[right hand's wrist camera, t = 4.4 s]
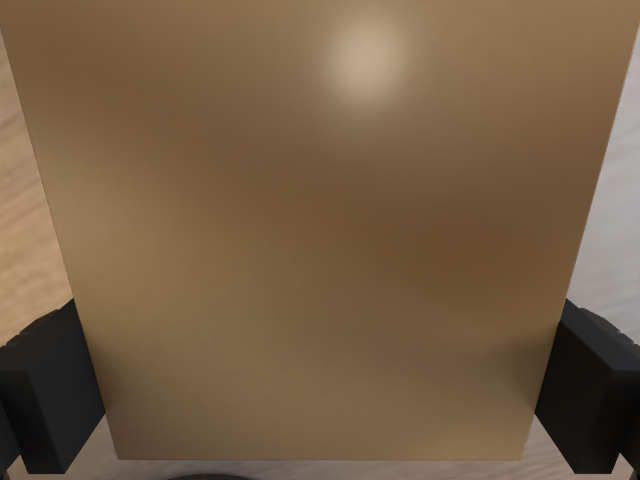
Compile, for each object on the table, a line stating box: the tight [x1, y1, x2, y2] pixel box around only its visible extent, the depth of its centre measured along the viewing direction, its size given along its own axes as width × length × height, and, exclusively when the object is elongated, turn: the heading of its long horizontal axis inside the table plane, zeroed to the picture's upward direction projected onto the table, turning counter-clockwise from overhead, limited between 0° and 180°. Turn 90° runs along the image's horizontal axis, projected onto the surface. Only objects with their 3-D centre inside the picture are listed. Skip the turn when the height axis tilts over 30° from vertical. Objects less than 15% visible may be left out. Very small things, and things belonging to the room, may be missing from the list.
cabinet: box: [0, 0, 640, 460], centre depth 12 cm, size 17×11×11 cm, turn 0°
